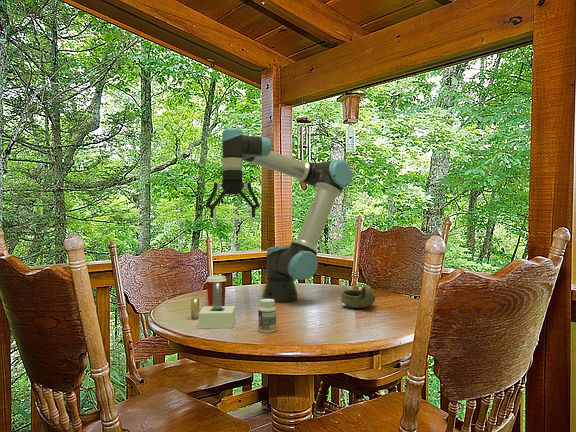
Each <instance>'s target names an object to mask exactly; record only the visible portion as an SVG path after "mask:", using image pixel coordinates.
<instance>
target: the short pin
mask: <svg viewBox="0 0 576 432" xmlns="http://www.w3.org/2000/svg"><path fill="white" fill-rule="evenodd" d="M200 309H201V308H200V298H198V297H197V298H195V297H193V298H191V299H190V315H191V316H190V318H191V320H199V312H200V311H201V310H200Z"/></svg>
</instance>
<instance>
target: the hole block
mask: <svg viewBox="0 0 576 432" xmlns="http://www.w3.org/2000/svg"><path fill="white" fill-rule="evenodd" d="M200 309H201V310H200V312H199V319H198V329H200V330H201V328H211V329H233V328H234V324H235V322H236V306H235V305H225V306H222V311H213V306H208V305H206V306H203V307H202V308H200Z"/></svg>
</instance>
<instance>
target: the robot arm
mask: <svg viewBox="0 0 576 432" xmlns="http://www.w3.org/2000/svg"><path fill="white" fill-rule="evenodd" d="M221 137H222V138H221V147H222V148H221V149H222V154H221V155H222V156H221V157H222V159H221V160H222V161H221V162H222V163H221V164H222V165H221V166H222V182H221V183H217V182H214V184H213V189H212V191H211V194H210V195H209V197H208V198H207V199H208V200H207V201H206V203H205V205H204V206H205V208H208V209H210V218H213V219H212V220H213V223H212V224H213V225H212V227H213V228H214V227H215V228H216V227H217V208H216V207H217V206H218V205H219V203H220V202H221V200H223V198H224V197H225V196H226V195H232V196H233V195H234V196H236V195H240V196H241V197H242V198H243V200H244V201H245V202H246V203H247V204H248V205H249V206H250V208H249V227H253V218H255V217H256V209H257V208H259V207H260V205H261V204H260V203H259V200H258V199H257V196H256V195H255V193H254V191H253V189H252V184H251V183H250V182H247V183H244V182H243V177H244V176H243V174H244V173H243V161H245V162H248V163H250V164H254V165H257V166H260V167H262V168H265V169H269V170H271V171H275V172H278V173H280V174H284V175H285V176H286V175H287V176H289V177H292V178H295V179H297V181H298V182H300V183H304V184H307V185H309V186H311V187H315V188H316V192H315V194H314V196H313V199H312V202H311V204H310V206H309V209H308V211H307V213H306V216H305V218H304V221H303V223H302V226H301V228H300V230H299V233H298V235H297V237H296V239H295V240H293V241H291V243H290V245H279V246H271V247H268V248H267V249H266V283H265V284H266V285H265V287H264V289H263V294H262V299H274V300H275V303H288V302H294V301H297V300H298V299H299V298H298V297H299V294H298V290H297V287H296V284H295V280H297V281H298V280H299V281H300V280H302V281H305V280H308V279H310V278H311V277H313V276H314V274H315V273H316V272H317V269H318V266H319V262H318V258H317V255H318V250H317V248H316V247H317V245H318V242H319V240H320V238H321V235H322V233H323V230H324V227H325V225H326V222H327V220H328V218H329V215H330V213H331V210H332V208H333V205H334V203H335V200H336V198H337V197H339V196H341V195H342V192H343V190H344V188H346V187H348V186H350V185H351V183H352V181H353V175H354V174H353V170H352V167H351V165H350V164H349V163H348V162H347V161H345V160H343V159H333V160H328V161H322V162H310V161H307V160H303V161H300V160H298V159H295V158H293V157H289V156H286V155H284V154H281V153H279V152H275V151H273V150H272V141H271V139H270V138H268V137H266V136H255V135H246V134H243V130H242V129H241V128H238V127H237V128H236V127H227V128H224V129H223V130H222V134H221ZM244 187H245V189H247V190H248V192H249V194H250V197H251V198H252V200H253V202H254V203H252V201H251V200H250V199H249V197H248V196H247V195H246V194H245V193H244V191H242V190H243V189H244ZM220 188H222V190H223V191H222V192H221V193H220V194H219V196H218V197H217V198H216V200H214V198H215V196H216V194H217V192H218V190H219V189H220ZM213 200H214V201H213ZM212 202H213V203H212Z"/></svg>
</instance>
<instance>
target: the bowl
mask: <svg viewBox="0 0 576 432" xmlns="http://www.w3.org/2000/svg"><path fill="white" fill-rule="evenodd" d="M340 293H341V294H340V295H341V298H340V302H341V303H343V304H344V305H346V306H347V307H349V308H354V309H365V308H368V307H370V306H371V305H373V304H374V303H375V301H376V299H375V298H376V294H375V292H373V290H372V287H371V286H370V285H363V286H362V289H343V290H342V291H340Z"/></svg>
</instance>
